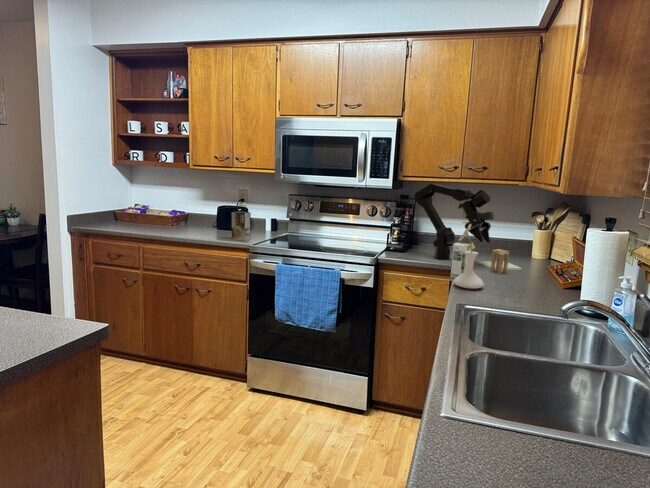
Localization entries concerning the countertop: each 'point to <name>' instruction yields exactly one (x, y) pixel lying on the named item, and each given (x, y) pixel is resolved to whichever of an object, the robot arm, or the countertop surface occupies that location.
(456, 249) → the syrup box
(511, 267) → the board
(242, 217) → the coffee box
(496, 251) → the wooden footstool
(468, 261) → the flower in vase
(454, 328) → the countertop surface
